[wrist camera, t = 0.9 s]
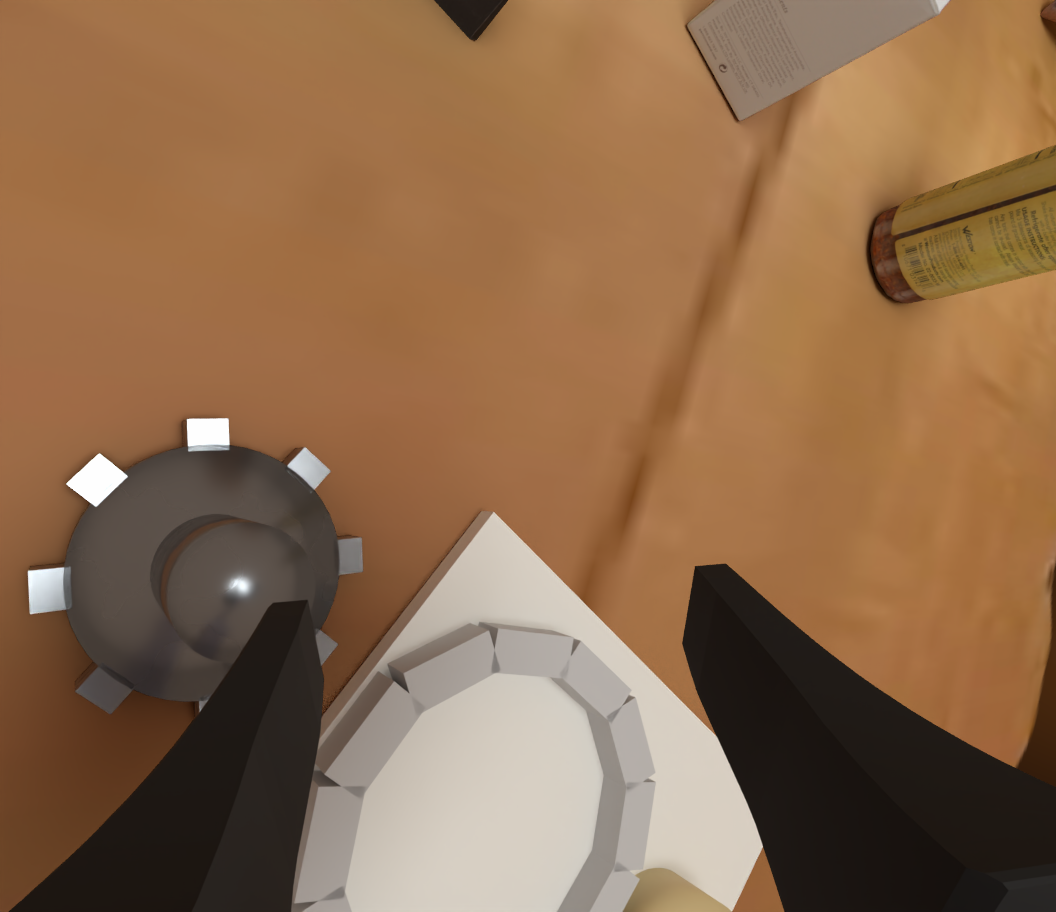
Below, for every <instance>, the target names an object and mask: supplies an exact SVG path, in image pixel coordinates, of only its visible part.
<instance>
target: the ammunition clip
mask: <svg viewBox="0 0 1056 912" xmlns="http://www.w3.org/2000/svg"><path fill="white" fill-rule="evenodd" d="M434 1H435V2H436V3H437V4H438V5H439V6H440V7H441V8H442V9H443V10H444V11H445V13H446V14H447V15H448V16H449V17H450V18H451V19H452V20H453V21H454V22H455V23H456V25H457V26H458V27H459V28H460V29H461V30H462V31H463V32H464V33H465V34H466V35H467V37H468V38H469V39H472V40H477V39H478V38H479V36H480V35H481V34H482V33H483V31H484V30H485V29H486V28H487V26H488V25H489V24H490V22H491V21H492V20H493V19H494V17H495V16H496V15H497V14H498V12H499V11H500V10H501V9H502V7H503V6H504V5H505V4H506V2H507V1H508V0H434Z"/></svg>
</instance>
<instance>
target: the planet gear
mask: <svg viewBox="0 0 1056 912" xmlns="http://www.w3.org/2000/svg"><path fill="white" fill-rule="evenodd" d="M182 435H183V448H178V449H173V450H169V451H166V452H163V453H160V454H157V455H154V456H151V457H149V458H147V459H145V460H143V461H141V462H139V463H137V464H134V465H133V466H131V467H130V468H128V469H127V470H125V471H124V472H122V471H121V470H120V469H118V468H117V467H116V466H115V465H113V464H112V463H111V462H110V461H108V460H107V459H106V458H105V457H103V456H102V455H101V454H100V453H99V454H98V455H97V456H96V457H95V458H93V459H92V460H91V461H90V462H89V463H88V464H87V465H86V466H85V467H84V468H83V469H82V470H80V471H79V472H78V473H77V474H76V475H75V476H74V477H73V478H72V479H71V480H70V481H69V482H67V483H66V484H67V485H68V486H69V487H71V488H72V489H73V490H75V491H76V492H77V493H79V494H80V495H81V496H82V497H84V498H85V499H86V500H88V501H89V502H90V504H89V505H88V507H87V508H86V509H85V511H84V512H83V514H82V515H81V517H80V519H79V521H78V523H77V525H76V527H75V529H74V531H73V533H72V536H71V539H70V542H69V545H68V548H67V553H66V558H65V563H60V564H49V565H39V566H30V568H29V570H28V583H29V606H30V614H34V613H42V612H50V611H58V610H66V611H67V615H68V618H69V622H70V625H71V627H72V629H73V631H74V633H75V635H76V637H77V640H78V641H79V643H80V644H81V646H82V647H83V649H84V650H85V652H86V653H87V655H88V656H89V657H90V658H91V659H92V660H93V661H94V662H93V663H92V664H91V665H90V666H89V667H88V668H87V669H86V670H85V671H84V672H83V673H82V675H81V676H80V677H79V678H78V679H77V680H76V681H75V692H76V693H78V694H80V695H81V696H83V697H84V698H86V699H87V700H89V701H90V702H92V703H94V704H95V705H97V706H98V707H100V708H101V709H103V710H104V711H106V712H108V713H109V714H112V712H113V711H114V710H115V709H116V708H117V707H118V706H119V705H120V704H121V702H122V701H123V700H124V699H125V698H126V697H127V696H128V695H129V694H130V693H131V691H132V690H135V691H138V692H140V693H143V694H145V695H148V696H152V697H157V698H161V699H165V700H174V701H183V702H188V701H194V713H195V717H196V716H197V715H198V713H199V712H200V711H201V709H202V708H203V707H204V705H205V704H206V703H207V701H208V700H209V698H210V697H211V696H212V694H213V693H214V691H215V690H216V688H217V687H218V685H219V684H220V682H221V681H222V680H223V678H224V677H225V675H226V674H227V672H228V671H229V669H230V668H231V667H232V665H233V664H234V662H235V660H236V659H237V657H238V656H239V654H240V653H241V651H242V650H243V648H244V646H245V645H246V643H247V642H248V640H249V638H250V637H251V635H252V634H253V632H254V630H255V629H256V627H257V625H258V624H259V622H260V620H261V619H262V617H263V615H264V613H265V612H266V610H267V608H268V607H269V606H270V605H271V604H272V603H275V602H287V601H298V600H308V602H309V607H310V612H311V617H312V622H313V627H314V632H315V637H316V642H317V647H318V652H319V657H320V662H321V665H322V664H323V663H324V662H325V660H326V659H327V658H328V657H329V655H330V654H331V653H332V652H333V650H334V649H335V648H336V647H337V645H338V644H337V643H336V642H335V641H333V640H332V639H331V638H330V637H328V636H327V635H326V634H325V633H323V632H322V631H321V630H320V629H321V627H322V625H323V624H324V622H325V620H326V618H327V616H328V614H329V611H330V609H331V606H332V604H333V601H334V597H335V594H336V590H337V586H338V579H339V575H342V574H350V573H358V572H363V560H362V538H361V537H357V536H352V535H347V536H337V535H336V531H335V527H334V525H333V522H332V520H331V517H330V515H329V512H328V511H327V509H326V507H325V505H324V503H323V502H322V500H321V499H320V497H319V496H318V495H317V493H316V492H315V491H314V489H315V488H316V487H317V486H318V485H319V484H320V483H321V481H322V480H323V479H324V478H325V477H326V476H327V475H328V474H329V473H330V472H331V471H330V470H329V469H328V468H327V467H326V466H325V465H324V464H322V463H321V462H320V461H319V460H318V459H317V458H316V457H315V456H314V455H313V454H312V453H311V452H309V451H308V450H307V449H306V448H305V447H302V448H295V449H294V450H293V451H292V452H291V453H290V454H289V456H288V457H287V458H286V459H285V460H284V461H283V462H280V461H278V460H277V459H275V458H272V457H270V456H268V455H265V454H263V453H261V452H258V451H254V450H251V449H247V448H244V447H237V446H231V445H229V424H228V419H186V420H184V421H182Z"/></svg>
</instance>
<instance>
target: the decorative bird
mask: <svg viewBox="0 0 1056 912" xmlns="http://www.w3.org/2000/svg"><path fill="white" fill-rule="evenodd" d="M1041 17H1043V18H1045V19H1047V20H1050V21H1052V22H1055V23H1056V0H1055V1H1054V2H1052V3H1051V4H1050V5H1048V6H1047V7H1046V8H1045V9H1044V10H1043V11H1042V12H1041Z"/></svg>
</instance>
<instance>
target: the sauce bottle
mask: <svg viewBox="0 0 1056 912" xmlns="http://www.w3.org/2000/svg"><path fill="white" fill-rule="evenodd" d="M870 252H871V259H872V265H873V269H874V271H875V275H876V278H877V280H878V282H879V284H880V285H881V287H882V288H883V289H884V291H885V293H886V294H887V295H888V296H890V297H891V298H893V299H894V300H895V301H899V302H901V303H912V302H917V301H922V300H926V299H929V300H933V299H938V298H942V297H946V296H950V295H955V294H959V293H963V292H967V291H971V290H975V289H979V288H983V287H987V286H991V285H995V284H999V283H1003V282H1008V281H1012V280H1016V279H1020V278H1024V277H1028V276H1032V275H1037V274H1041V273H1045V272H1049V271H1053V270H1056V145H1054V146H1051V147H1048V148H1046V149H1043V150H1041V151H1038V152H1035V153H1033V154H1030V155H1027V156H1024V157H1022V158H1019V159H1016V160H1013V161H1011V162H1008V163H1005V164H1003V165H1000V166H997V167H994V168H992V169H989V170H986V171H984V172H981V173H978V174H976V175H973V176H970V177H967V178H964V179H962V180H959V181H956V182H953V183H951V184H948V185H945V186H943V187H940V188H937V189H934V190H932V191H929V192H926V193H924V194H921V195H918V196H915V197H912V198H909V199H908V200H906V201H904V202H903V203H902V204H901V205H899V206H896V207H894V208H891V209H890V210H888V211H886V212H884V213H882V214H881V215H880V216H879V217H878V218H877V220H876V224H875V226H874V231H873V237H872V241H871V249H870Z"/></svg>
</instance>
